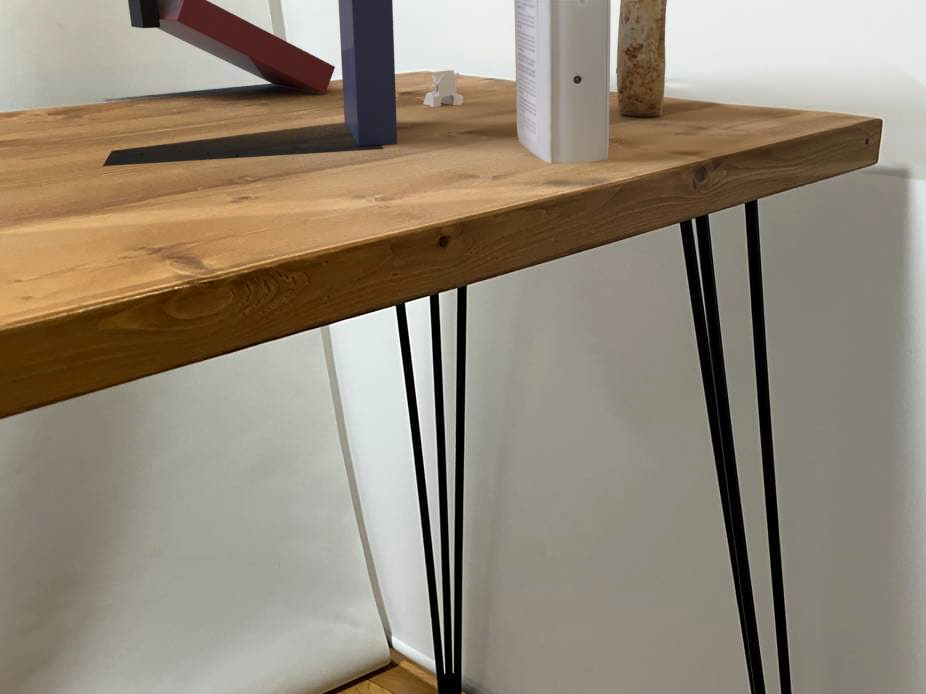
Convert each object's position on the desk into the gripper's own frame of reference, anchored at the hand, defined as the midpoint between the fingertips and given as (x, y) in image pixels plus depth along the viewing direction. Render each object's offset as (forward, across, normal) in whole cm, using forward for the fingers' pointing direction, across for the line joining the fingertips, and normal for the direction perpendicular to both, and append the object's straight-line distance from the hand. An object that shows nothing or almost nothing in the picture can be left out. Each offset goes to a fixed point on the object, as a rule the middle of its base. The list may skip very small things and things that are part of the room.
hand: (146, 26), depth 90 cm
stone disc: (+6, +25, -32) cm, 41 cm away
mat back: (+7, +6, 0) cm, 9 cm away
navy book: (-1, +4, -26) cm, 26 cm away
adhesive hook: (+7, +17, -16) cm, 25 cm away
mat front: (+7, -2, -23) cm, 24 cm away
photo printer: (+7, +11, -40) cm, 42 cm away
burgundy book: (+3, +7, 0) cm, 7 cm away
